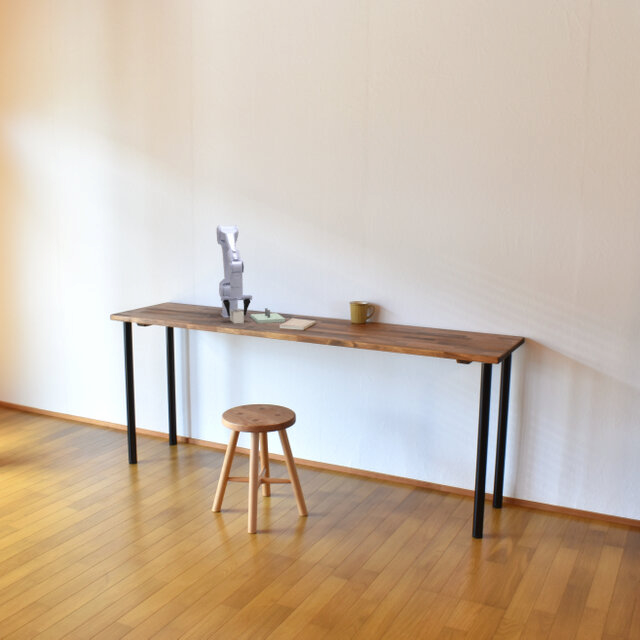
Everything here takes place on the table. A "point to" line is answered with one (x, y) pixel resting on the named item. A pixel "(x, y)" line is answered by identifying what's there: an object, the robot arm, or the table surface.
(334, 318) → the table surface
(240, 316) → the beige hollow block
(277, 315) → the pin plate
